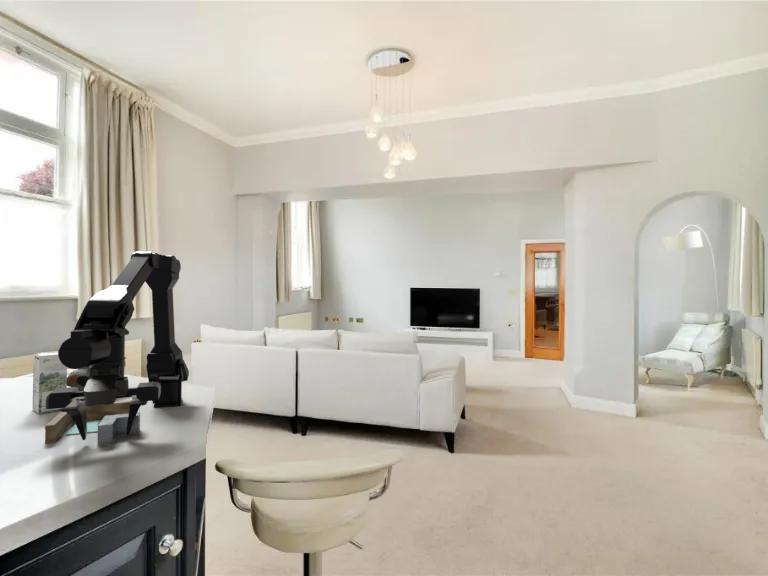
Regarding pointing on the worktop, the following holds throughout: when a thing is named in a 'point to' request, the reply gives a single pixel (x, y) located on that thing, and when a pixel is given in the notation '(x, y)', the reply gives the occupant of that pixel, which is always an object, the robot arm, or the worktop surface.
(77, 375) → the lucky cat figurine
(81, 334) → the robot arm
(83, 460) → the worktop surface
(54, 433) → the corner wall
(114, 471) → the worktop surface
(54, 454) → the worktop surface
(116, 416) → the bracket
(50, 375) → the syrup box
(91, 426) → the mat
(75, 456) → the worktop surface
